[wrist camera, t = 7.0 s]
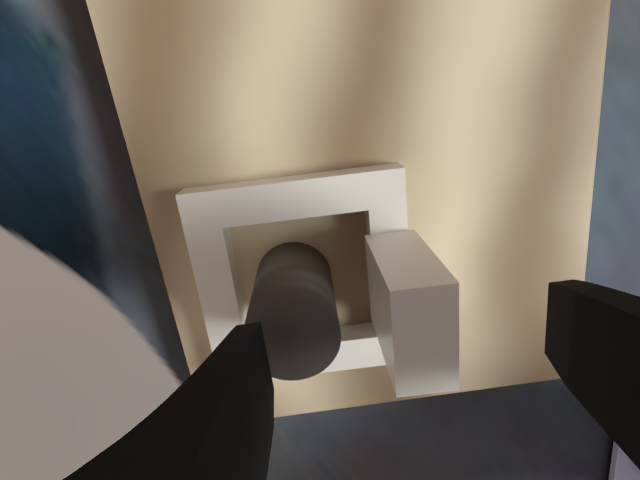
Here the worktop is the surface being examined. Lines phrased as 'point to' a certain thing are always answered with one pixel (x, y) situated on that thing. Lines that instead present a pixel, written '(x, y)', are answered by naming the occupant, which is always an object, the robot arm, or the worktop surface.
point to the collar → (381, 256)
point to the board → (368, 161)
